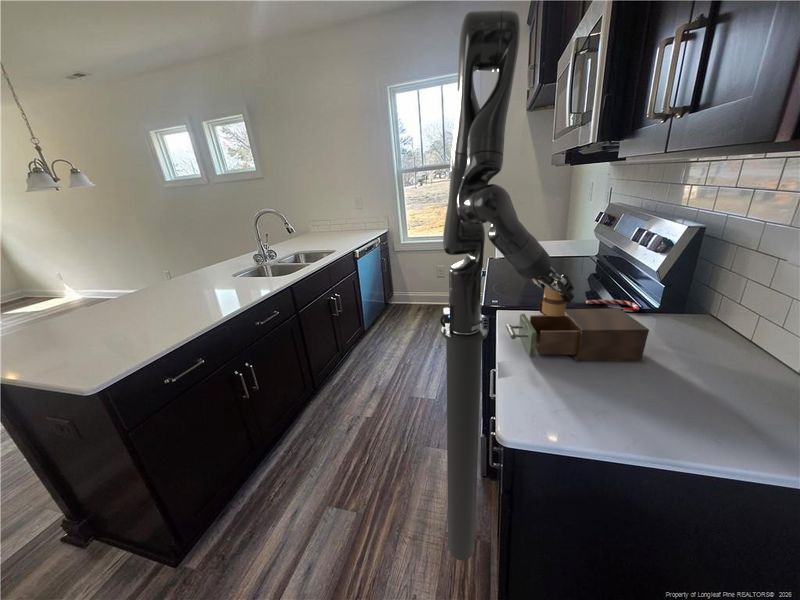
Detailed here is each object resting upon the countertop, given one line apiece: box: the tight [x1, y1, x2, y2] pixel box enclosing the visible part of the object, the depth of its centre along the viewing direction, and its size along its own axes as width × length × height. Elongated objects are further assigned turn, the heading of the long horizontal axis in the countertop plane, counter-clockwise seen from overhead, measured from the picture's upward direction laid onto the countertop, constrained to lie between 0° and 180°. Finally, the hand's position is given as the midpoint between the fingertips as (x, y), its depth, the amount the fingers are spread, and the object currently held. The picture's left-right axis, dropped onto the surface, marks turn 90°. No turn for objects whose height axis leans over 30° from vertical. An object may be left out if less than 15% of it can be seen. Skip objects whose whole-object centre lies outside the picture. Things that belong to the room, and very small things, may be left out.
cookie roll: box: [542, 281, 567, 317], centre depth 78 cm, size 5×5×8 cm
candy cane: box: [585, 299, 640, 313], centre depth 106 cm, size 8×1×15 cm
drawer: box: [505, 313, 580, 358], centre depth 83 cm, size 18×11×7 cm, turn 84°
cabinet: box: [564, 307, 650, 362], centre depth 81 cm, size 15×13×9 cm
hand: (560, 295), depth 79 cm, fingers closed on cookie roll, 5 cm apart
